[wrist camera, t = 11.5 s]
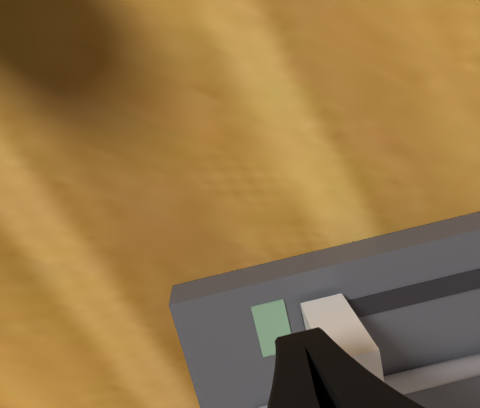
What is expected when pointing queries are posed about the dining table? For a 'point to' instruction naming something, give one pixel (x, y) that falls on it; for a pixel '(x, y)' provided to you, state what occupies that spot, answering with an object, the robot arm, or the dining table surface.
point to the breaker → (343, 330)
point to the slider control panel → (362, 303)
